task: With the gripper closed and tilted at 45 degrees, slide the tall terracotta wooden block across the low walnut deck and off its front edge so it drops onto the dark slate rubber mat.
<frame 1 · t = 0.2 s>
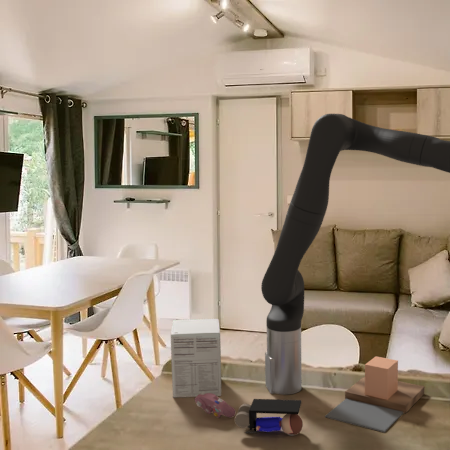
supplement box: (197, 388, 176), on the counter
mat: (364, 415, 156), on the counter
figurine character: (269, 433, 149), on the counter
block: (381, 392, 165), point 2 cm above the counter, touching deck
deck: (384, 396, 167), on the counter
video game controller: (214, 415, 159), on the counter
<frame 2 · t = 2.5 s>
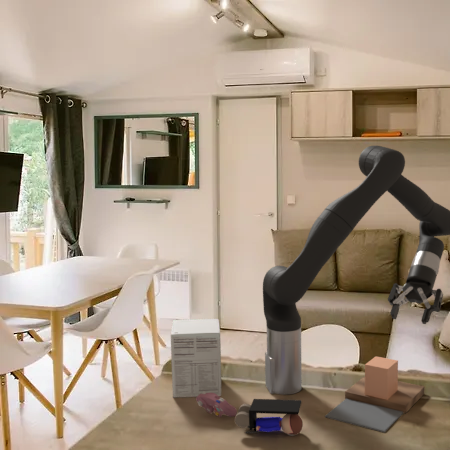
hand: (408, 320, 176), 17 cm above the counter, tool tilted 45°, fingers open, 8 cm apart
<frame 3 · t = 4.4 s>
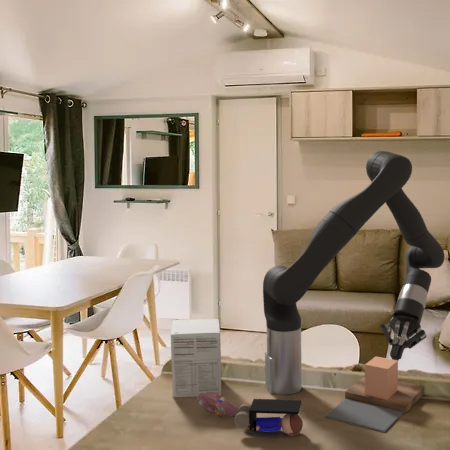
hand: (394, 359, 171), 8 cm above the counter, tool tilted 45°, fingers closed
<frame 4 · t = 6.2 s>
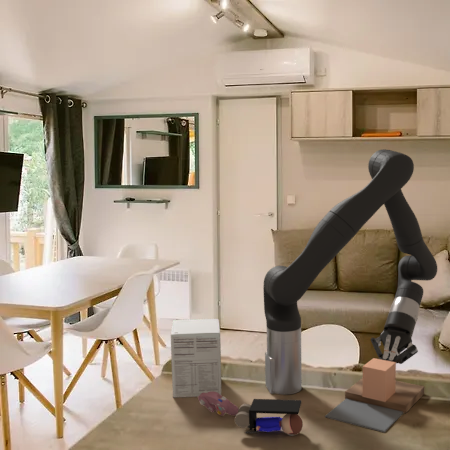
hand: (384, 374, 166), 6 cm above the counter, tool tilted 45°, fingers closed
block: (379, 394, 164), point 2 cm above the counter, touching gripper
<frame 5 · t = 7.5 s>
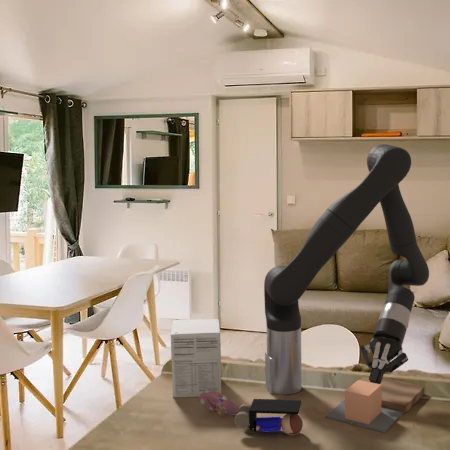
hand: (373, 384, 160), 6 cm above the counter, tool tilted 45°, fingers closed
block: (369, 395, 158), point 4 cm above the counter, tilted 90°, touching mat
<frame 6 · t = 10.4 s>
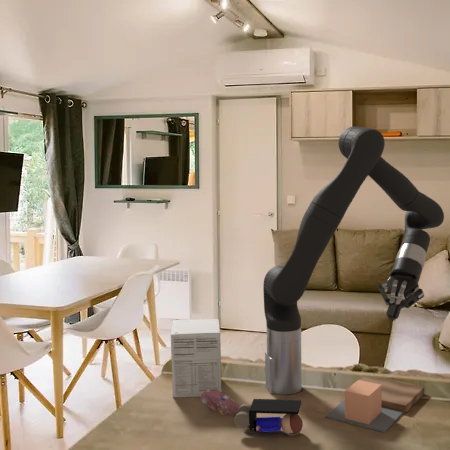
hand: (391, 318, 167), 20 cm above the counter, tool tilted 45°, fingers closed
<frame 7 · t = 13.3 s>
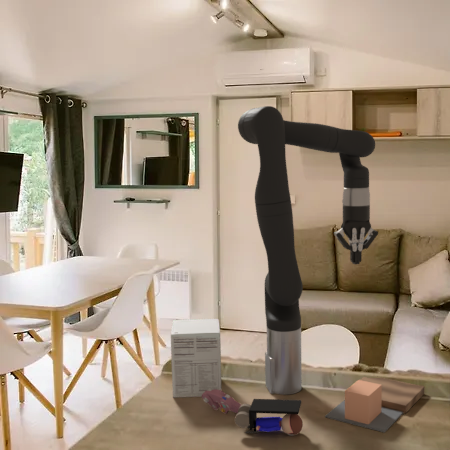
hand: (355, 263, 183), 31 cm above the counter, tool pointing down, fingers closed
at the end: block inside the target area on the mat (3.1 cm from its centre), point 3.9 cm above the mat's base; block touching mat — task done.
